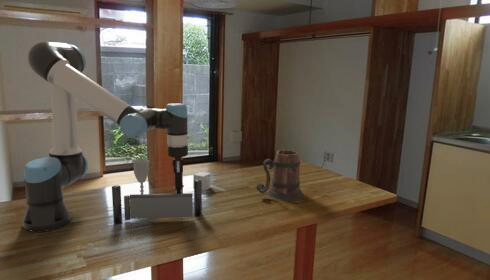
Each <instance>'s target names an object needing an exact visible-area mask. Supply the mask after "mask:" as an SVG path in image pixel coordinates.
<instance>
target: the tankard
mask: <svg viewBox="0 0 490 280" xmlns="http://www.w3.org/2000/svg"><path fill="white" fill-rule="evenodd" d="M267 164H268V165H267ZM262 165H263V171H265V174H266V181H265V185H264V184H263V183H261V182H260V183H257V185H256V190H257V191H258V192H259V193H260V194H265V193H267V195H268V196H269V197H270V198H273V199H276V200H280V201H297V200H300V199H302V198H303V197H304V193H303V192H302V190H301V189H300V186H301V181H300V165H301V160H300V155H299V152H298V151H294V150H288V149H280V150H277V151H276V152H275V156H274V159H273V160H272V159H271V158H266V159H264V161H263V162H262ZM272 169H273V174H272V179H271V174H270V171H271V170H272ZM269 170H270V171H269ZM270 183H271V185H272V186H271V187H270ZM269 187H270V189H269Z"/></svg>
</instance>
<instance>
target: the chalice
mask: <svg viewBox="0 0 490 280" xmlns="http://www.w3.org/2000/svg"><path fill="white" fill-rule="evenodd" d="M132 164H133V173H134V176H135V178H136V181H137V182H138V183H140V185H139V188H140V190H139V192H140V194H144V192H145V190H144V188H145V186H144V183H145V182H146V181H147V178H148V176H149V172H150V166H149V164H150V160H149V159H145V158H138V159H134V160H132Z"/></svg>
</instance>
